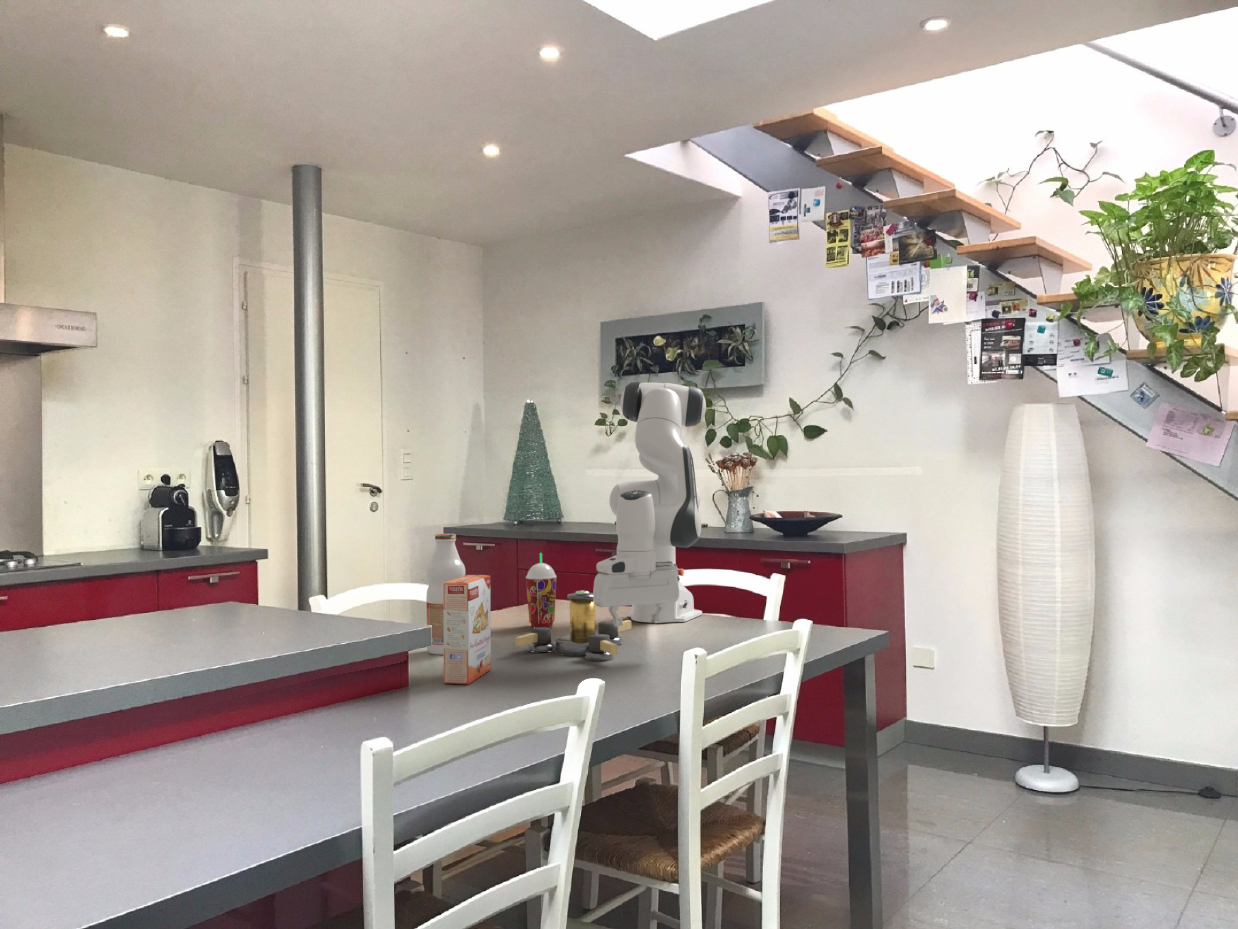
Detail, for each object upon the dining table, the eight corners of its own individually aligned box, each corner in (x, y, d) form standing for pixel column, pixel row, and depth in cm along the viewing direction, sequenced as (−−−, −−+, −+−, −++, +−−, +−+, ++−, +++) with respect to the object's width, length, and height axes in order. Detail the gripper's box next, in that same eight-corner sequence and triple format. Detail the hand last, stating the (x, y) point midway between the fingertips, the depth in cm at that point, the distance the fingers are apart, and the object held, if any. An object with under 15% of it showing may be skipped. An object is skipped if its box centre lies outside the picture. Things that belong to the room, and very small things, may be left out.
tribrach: (578, 637, 251) (577, 580, 251) (655, 646, 237) (655, 587, 237) (522, 651, 234) (521, 590, 234) (602, 662, 220) (601, 598, 220)
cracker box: (470, 685, 200) (469, 582, 200) (442, 684, 201) (440, 582, 201) (493, 670, 213) (491, 574, 213) (466, 669, 215) (465, 573, 214)
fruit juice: (439, 657, 228) (437, 536, 228) (420, 651, 236) (418, 534, 235) (474, 651, 234) (472, 534, 234) (454, 646, 242) (452, 531, 241)
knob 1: (539, 639, 238) (539, 626, 238) (555, 641, 235) (555, 628, 235) (509, 647, 229) (509, 634, 229) (525, 649, 226) (525, 635, 226)
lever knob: (610, 638, 238) (610, 625, 238) (594, 636, 241) (594, 623, 241) (636, 631, 247) (636, 618, 247) (621, 629, 250) (621, 617, 250)
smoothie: (556, 629, 263) (554, 554, 263) (524, 629, 263) (523, 554, 263) (558, 623, 272) (557, 551, 271) (528, 624, 272) (527, 551, 272)
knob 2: (585, 649, 226) (585, 635, 226) (604, 647, 228) (604, 633, 228) (604, 658, 215) (604, 643, 215) (624, 656, 217) (624, 641, 217)
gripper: (671, 559, 229) (672, 619, 229) (589, 564, 221) (590, 626, 221) (683, 561, 224) (684, 622, 224) (600, 566, 215) (601, 630, 215)
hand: (637, 624), depth 222 cm, fingers open, 8 cm apart
